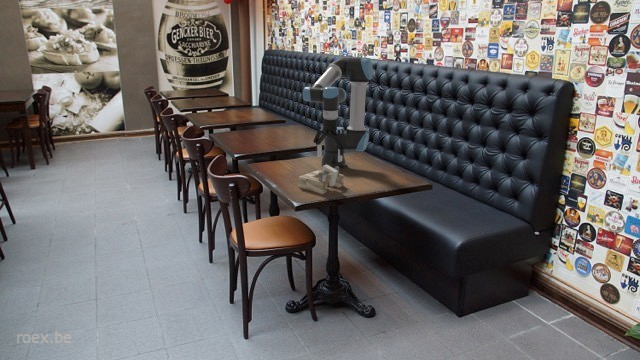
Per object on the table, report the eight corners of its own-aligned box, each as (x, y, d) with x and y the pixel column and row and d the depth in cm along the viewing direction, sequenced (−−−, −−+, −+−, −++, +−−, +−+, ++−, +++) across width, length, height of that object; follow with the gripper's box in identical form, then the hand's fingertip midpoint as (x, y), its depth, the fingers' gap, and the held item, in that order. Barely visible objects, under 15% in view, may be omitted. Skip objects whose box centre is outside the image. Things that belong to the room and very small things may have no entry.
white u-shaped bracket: (323, 178, 254) (326, 164, 250) (334, 185, 250) (338, 171, 246) (319, 179, 251) (323, 165, 248) (331, 186, 247) (334, 172, 244)
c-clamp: (320, 179, 265) (320, 161, 262) (343, 185, 256) (344, 167, 253) (298, 187, 252) (298, 168, 249) (322, 193, 242) (322, 174, 239)
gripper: (306, 116, 244) (306, 156, 251) (345, 122, 229) (344, 165, 236) (316, 114, 250) (315, 153, 257) (355, 120, 235) (353, 161, 242)
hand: (329, 158), depth 246 cm, fingers open, 13 cm apart
